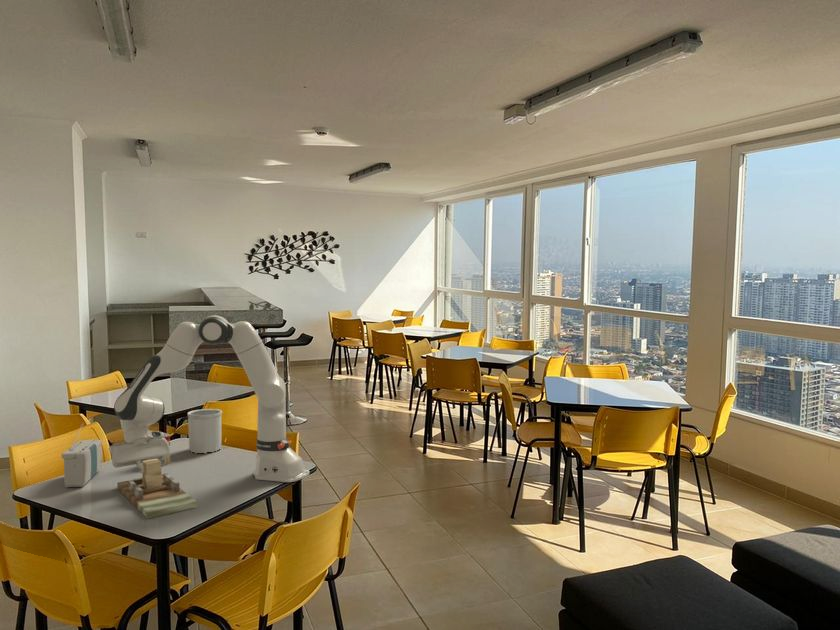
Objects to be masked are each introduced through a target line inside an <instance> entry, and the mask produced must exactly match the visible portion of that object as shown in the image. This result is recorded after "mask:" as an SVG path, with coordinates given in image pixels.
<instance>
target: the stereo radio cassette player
mask: <svg viewBox="0 0 840 630" xmlns="http://www.w3.org/2000/svg"><path fill="white" fill-rule="evenodd" d="M83 425H84V423H81V426H80V428H79V430H78V431H77V433H76V436H75V438H74V440H73V443H72V445H71V447H69V448H68V449H66V450H65V451H63V453H61V459H63V468H64V469H63V472H64V473H63V474H64V475H63V476H64V477H63V479H64V481H63V482H64V487H65V488H79V487H80V488H83V487H84V486H86V484H87V483H88V482H89V481H90V480H91V479H92V478H93V477H94V476H96V475H97V473H99V472H100V471H101V470H102V467H103V447H102V446H103V445H102V440H101V439H81V440H78V442H76V441H77V439H78V436H79V434H80V432H81V429H82V427H83Z"/></svg>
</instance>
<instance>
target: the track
mask: <svg viewBox="0 0 840 630" xmlns="http://www.w3.org/2000/svg"><path fill="white" fill-rule="evenodd" d="M161 482H162V483H163V484H165V485H166V486H167V489H163V490H159V491H154V492H149V493H143V490H142V489H141V488H140V487H139V486H138V485H141V484H143V477H141V478H135V479H129V480H125V481H120V482H118V481H117V485H116V486H117V489H118V491H120V492H121V493H122V494H123V495H124V496H125V498H127V499H128V500H129V501H130V502H131V504H133V506H135V508H137V510H138V511H140V513H141V514H142V515H143V516H144V517H145V518H146V519H151V518H155V517H161V516H165V515H169V514H173V513H178V512H182V511H186V510H190V509H191V510H192V509H195V508H198V501H197V500H196V499H195V498H194V497H192V496H191V495H190V494H188V493H187V492H185V490H183V489H182V488H180V482H179V481H178V480H176V479H175V478H173V476H171V475H170V474H168V473H167V472H166V473H161Z"/></svg>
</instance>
